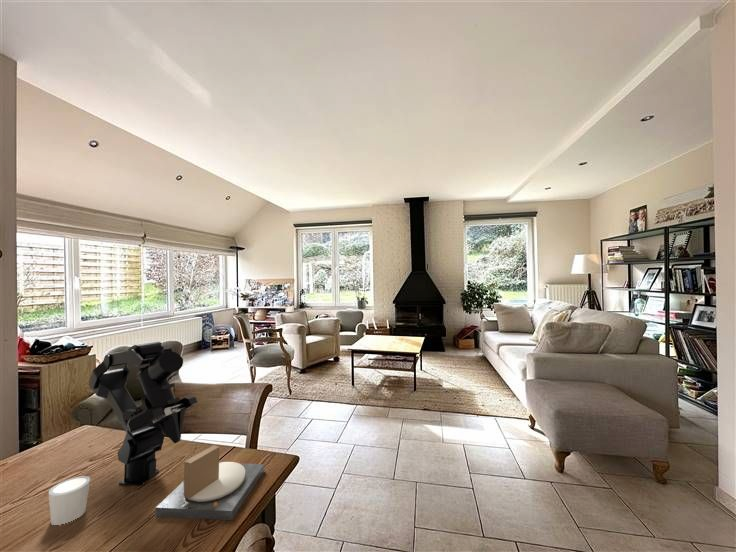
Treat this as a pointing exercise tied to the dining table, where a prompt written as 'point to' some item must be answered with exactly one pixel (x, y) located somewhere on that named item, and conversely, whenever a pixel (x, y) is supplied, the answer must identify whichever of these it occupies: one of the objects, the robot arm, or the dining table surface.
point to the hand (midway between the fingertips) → (177, 442)
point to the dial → (210, 476)
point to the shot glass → (68, 500)
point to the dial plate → (215, 508)
